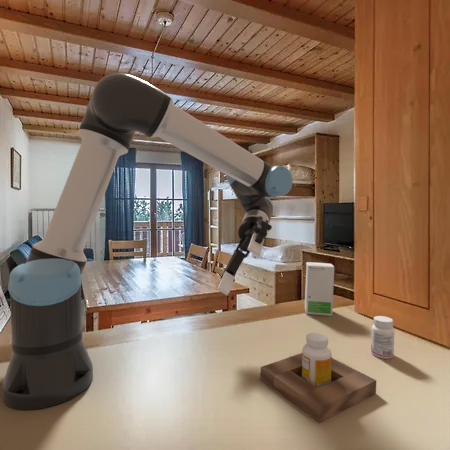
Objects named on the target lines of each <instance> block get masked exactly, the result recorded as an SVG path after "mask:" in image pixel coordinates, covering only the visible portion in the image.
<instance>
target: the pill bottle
mask: <svg viewBox="0 0 450 450" xmlns="http://www.w3.org/2000/svg"><path fill="white" fill-rule="evenodd" d="M370 339H371V340H370V341H371V342H370V344H371V345H370V346H371V347H370V352H371V354H372V355H373V356H375V357H377V358H380V359H384V360H385V359H387V360H388V359H389V360H390V359H392V358H394V356H395V329H394V320H393V318H391V317H388V316H385V315H377V316H374V317H373V324H372V326H371V338H370Z"/></svg>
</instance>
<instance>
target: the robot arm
mask: <svg viewBox="0 0 450 450" xmlns="http://www.w3.org/2000/svg"><path fill="white" fill-rule="evenodd" d="M136 132H137V133H140V134H142V135H144V136H146V137H148V138H150V139H153V138H157V137H158V138H160V139H161V140H163V141H165V142H167V143H168V144H170V145H172V146H174V147H176V148H177V149H180V150H181V151H183V152H185V153H186V154H188V155H190V156H192V157H194V158H196V159H197V160H199V161H201V162H203V163H204V164H207V165H208V166H210V167H212V168H214V169H215V170H217V171H219V172H221V173H223V174H224V175H225V177H226V179H227V181H228V185H229V187H230V188H231V190H232V191H233V194H234V195H235V197H236V199H237V200H238V202H239V204H240V206H241V209H242V211H243V212H244V216H243V218H242V220H241V222H240V224H239V227H238V230H237V236H238V238H239V241H238V244H237V246H236V248H235V249H234V250H233V253H232V256H231V257H230V259H229V261H228V263H227V265H226V266H225V268H224V270H223V273H222V274H221V275H220V277H219V278H220V282H219V285H218V287H217V289H216V290H217V291H219V292H221V293H222V294H224V295H225V296H228V295H229V294H230V291H231V288H232V286H233V284H234V282H235V281H236V277H235V275H236V273H237V271H239V268H240V266H241V265H242V263H243V262H244V260H245V259H246V258H248V256H249V254H250V253H252V254H253V255H255V256H257V257H259V256H260V255H261V253H262V249H263V244H264V242H265V240H266V237H267V235H268V233H269V231H270V230H272V229H273V228H272V227H273V226H272V225H271V223H270V221H271V219H272V217H273V213H274V205H273V201H272V200H271V199H270V198H278V197H283V196H285V195H287V194H288V193H289V192H290V191H291V189H292V186H293V181H294V179H293V175H292V172H291V170H289V169H288V167H286V166H283V165H271V164H270V163H268V162H266V161H264V160H262V159H261V158H260V157H258V156H256V155H255V154H253V153H252V152H250V151H248V150H247V149H245V148H244V147H242V146H241V145H239V144H237V143H236V142H235V141H232V140H231V139H229V138H227V136H225V135H223V134H221V133H220V132H218V131H217V130H215V129H213V128H212V127H210V126H209V125H208V124H205V123H204V122H202V121H200V120H199V119H197V118H195V117H194V116H193V115H191V114H190V113H188V112H186V111H185V110H183V109H181V108H180V107H178V106H176V105H175V104H174V101H173V97H171V96H170V95H168V94H167V93H166V92H164V91H162V90H161V89H159V88H157V87H156V86H154V85H152V84H150V83H149V82H148V81H145V80H143V79H141V78H139V77H136V76H134V75H131V74H127V73H121V72H118V73H117V72H114V73H111V74H108V75H105V76H104V77H102V78H101V79H100V80H99V81H98V82H97V83H96V84H95V87H94V88H93V91H92V95H91V98H90V99H89V102H88V103H87V106H86V110H85V113H84V116H83V118H82V120H81V123H80V126H79V128H78V131H77V133H78V135H79V137H80V139H81V142H80V146H79V148H78V151H77V153H76V156H75V159H74V160H73V164H72V166H71V169H70V171H69V173H68V176H67V179H66V181H65V184H64V186H63V189H62V191H61V194H60V197H59V199H58V201H57V203H56V205H55V206H56V207H55V209H54V211H53V213H52V214H53V215H52V217H51V219H50V222H49V224H48V227H47V230H46V232H45V234H44V237H43V239H42V240H40V241H38V242H36V243H33V244H32V246H31V249H30V252H29V255H28V257H27V259H26V262H25V263H21V264H18V265H17V266H16V267H14V268H12V270H11V272H10V274H9V281H8V285H7V290H8V292H9V297H10V298H9V300H10V301H9V302H10V306H9V307H10V325H11V326H10V327H11V346H12V347H11V348H12V349H11V351H12V353H11V355H10V356H11V357H10V360H9V361H8V362H9V363H8V366H7V369H6V373H5V376H4V379H3V381H2V387H1V392H2V395H1V397H2V401H3V403H4V404H5V405H7V406H8V407H10V408H12V409H15V410H16V409H18V410H36V409H37V410H39V409H43V408H49V407H51V406H52V407H53V406H56V405H59V404H61V403H65V402H67V401H69V400H71V399H73V398H75V397H77V396H79V395H80V394H81V393H83V392H84V391H85V390H86V389H88V388H89V387H90V385H91V384H92V381H93V379H94V366H93V363H92V359H91V358H90V356H89V353H88V350H87V347H86V346H85V342H84V340H83V339H84V338H83V318H82V317H83V315H82V313H83V310H82V282H83V281H82V280H83V277H82V275H83V272H84V269H85V266H86V263H87V261H88V259H87V256H86V255H85V253H84V249H85V246H86V245H87V242H88V239H89V236H90V234H91V231H92V228H93V226H94V223H95V221H96V218H97V216H98V212H99V210H100V207H101V205H102V203H103V200H104V197H105V195H106V191H107V189H108V186H109V184H110V181H111V179H112V176H113V173H114V171H115V168H116V165H117V163H118V159H119V157H120V156H123V155H126V154H128V152H129V149H130V148H131V145H132V142H133V139H134V137H135V134H136ZM244 252H246V253H244Z"/></svg>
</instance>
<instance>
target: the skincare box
mask: <svg viewBox="0 0 450 450" xmlns="http://www.w3.org/2000/svg"><path fill="white" fill-rule="evenodd" d="M305 266H306V267H305V288H304V289H305V291H304V311H305V313H306V315H313V316H315V315H316V316H318V315H319V316H326V317H327V316H329V317H333V308H334V305H333V304H334V286H335V285H334V283H335V282H334V281H335V266H334V265H333V264H332V263H330V262H329V263H328V262H327V263H326V262H315V261H314V262H312V261H307V262H305Z"/></svg>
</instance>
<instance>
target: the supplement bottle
mask: <svg viewBox="0 0 450 450" xmlns="http://www.w3.org/2000/svg"><path fill="white" fill-rule="evenodd" d="M305 337H306V338H305V341H306V342H305V344H304V345H303V347H302V350H301V351H302V352H301V353H302V378H303V379H305V380H306V381H308V382H309V383H311V384H312V385H314V386H316V387H317V388H319V387H321V386H323V385H326V384H328V383H330V382H331V361H332V358H333V356H332V350H331V348H329V338H328V336H327V335H326V334H324V333H321V332H309V333H306V336H305Z"/></svg>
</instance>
